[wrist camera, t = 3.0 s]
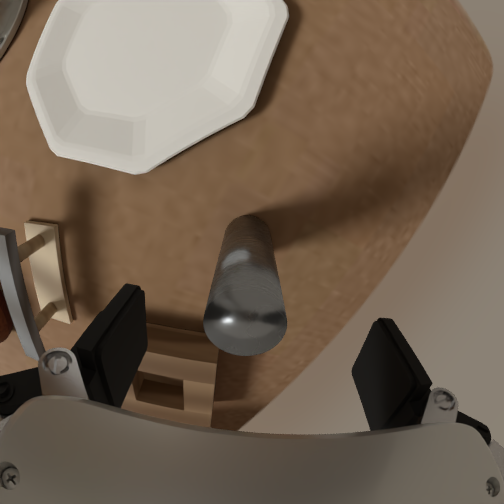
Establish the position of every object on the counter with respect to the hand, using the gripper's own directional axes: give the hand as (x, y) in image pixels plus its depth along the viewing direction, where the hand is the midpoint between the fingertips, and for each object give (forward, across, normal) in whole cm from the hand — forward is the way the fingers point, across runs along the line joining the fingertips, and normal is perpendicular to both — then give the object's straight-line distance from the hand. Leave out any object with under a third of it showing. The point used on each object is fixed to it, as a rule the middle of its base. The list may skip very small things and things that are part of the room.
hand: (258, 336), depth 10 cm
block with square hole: (+10, +7, +14) cm, 18 cm away
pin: (+10, +1, 0) cm, 10 cm away
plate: (+10, +11, -14) cm, 21 cm away
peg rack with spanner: (+10, +19, +6) cm, 22 cm away
